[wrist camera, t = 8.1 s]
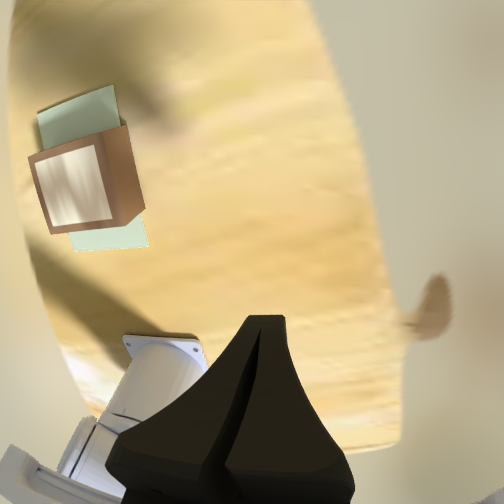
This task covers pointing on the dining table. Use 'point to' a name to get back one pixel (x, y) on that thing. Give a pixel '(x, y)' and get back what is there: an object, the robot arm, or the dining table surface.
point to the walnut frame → (88, 182)
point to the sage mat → (80, 125)
